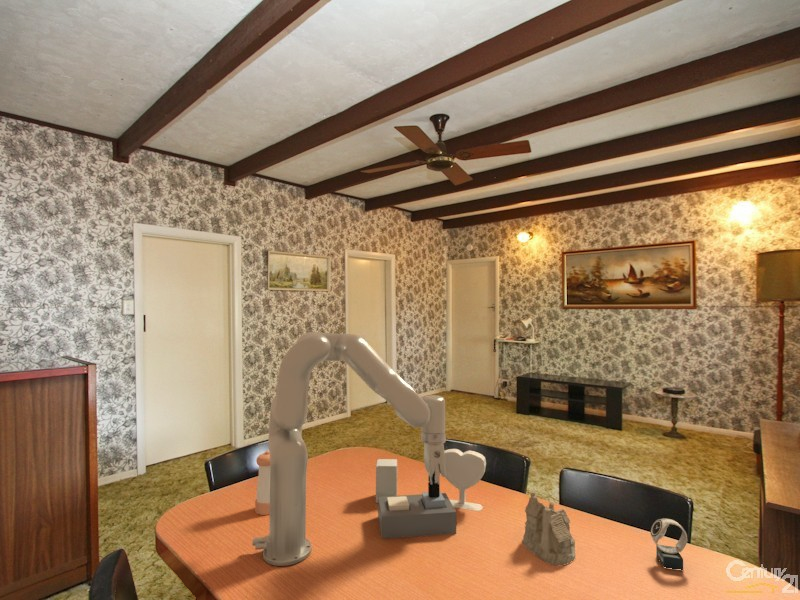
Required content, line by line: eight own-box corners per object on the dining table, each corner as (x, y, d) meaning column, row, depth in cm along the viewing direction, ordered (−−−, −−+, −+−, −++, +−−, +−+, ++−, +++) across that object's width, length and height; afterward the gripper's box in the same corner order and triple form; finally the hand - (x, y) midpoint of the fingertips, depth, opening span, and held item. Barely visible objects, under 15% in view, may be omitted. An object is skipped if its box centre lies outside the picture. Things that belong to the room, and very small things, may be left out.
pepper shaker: (281, 505, 140) (282, 447, 140) (273, 515, 133) (273, 455, 133) (261, 504, 141) (261, 447, 141) (251, 514, 133) (252, 454, 134)
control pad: (381, 538, 119) (381, 516, 119) (378, 516, 132) (378, 496, 132) (456, 533, 122) (456, 511, 122) (445, 512, 135) (445, 492, 135)
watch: (648, 555, 111) (647, 513, 112) (682, 559, 109) (681, 517, 110) (655, 567, 106) (654, 523, 106) (691, 572, 104) (690, 528, 104)
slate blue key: (425, 518, 125) (425, 501, 125) (421, 508, 131) (421, 492, 131) (445, 516, 125) (445, 500, 126) (440, 507, 131) (440, 491, 131)
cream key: (389, 523, 123) (389, 506, 123) (387, 513, 129) (387, 497, 129) (409, 521, 124) (409, 504, 124) (406, 512, 130) (406, 496, 130)
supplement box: (396, 503, 141) (397, 466, 142) (375, 503, 141) (375, 466, 142) (397, 494, 149) (397, 458, 149) (376, 494, 149) (377, 458, 149)
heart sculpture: (438, 504, 141) (438, 451, 141) (441, 498, 145) (441, 446, 146) (484, 512, 135) (484, 456, 136) (486, 505, 140) (486, 451, 141)
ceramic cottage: (548, 568, 106) (549, 507, 107) (512, 537, 121) (514, 484, 122) (598, 561, 110) (598, 503, 111) (557, 532, 126) (558, 481, 127)
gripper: (451, 443, 122) (452, 506, 121) (439, 429, 137) (440, 485, 136) (426, 444, 121) (426, 508, 120) (417, 430, 136) (417, 486, 135)
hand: (433, 496), depth 128 cm, fingers closed
